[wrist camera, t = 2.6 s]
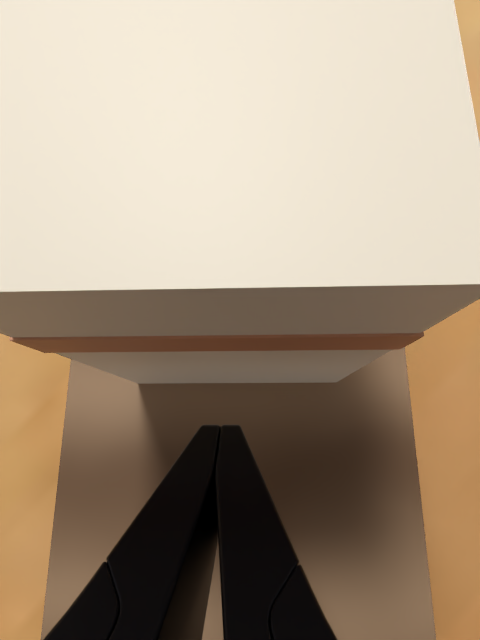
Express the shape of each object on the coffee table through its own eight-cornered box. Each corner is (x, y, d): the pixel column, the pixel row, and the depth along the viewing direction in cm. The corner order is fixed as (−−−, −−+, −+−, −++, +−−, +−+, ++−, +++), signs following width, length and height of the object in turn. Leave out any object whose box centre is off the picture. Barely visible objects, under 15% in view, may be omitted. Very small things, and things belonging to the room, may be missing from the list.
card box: (338, 384, 14) (510, 288, 4) (136, 384, 14) (-113, 297, 5) (329, 249, 15) (448, -52, 6) (145, 252, 16) (-36, -27, 6)
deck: (411, 749, 14) (458, 850, 11) (75, 738, 15) (20, 831, 11) (368, 269, 19) (392, 235, 15) (114, 274, 19) (83, 241, 16)
